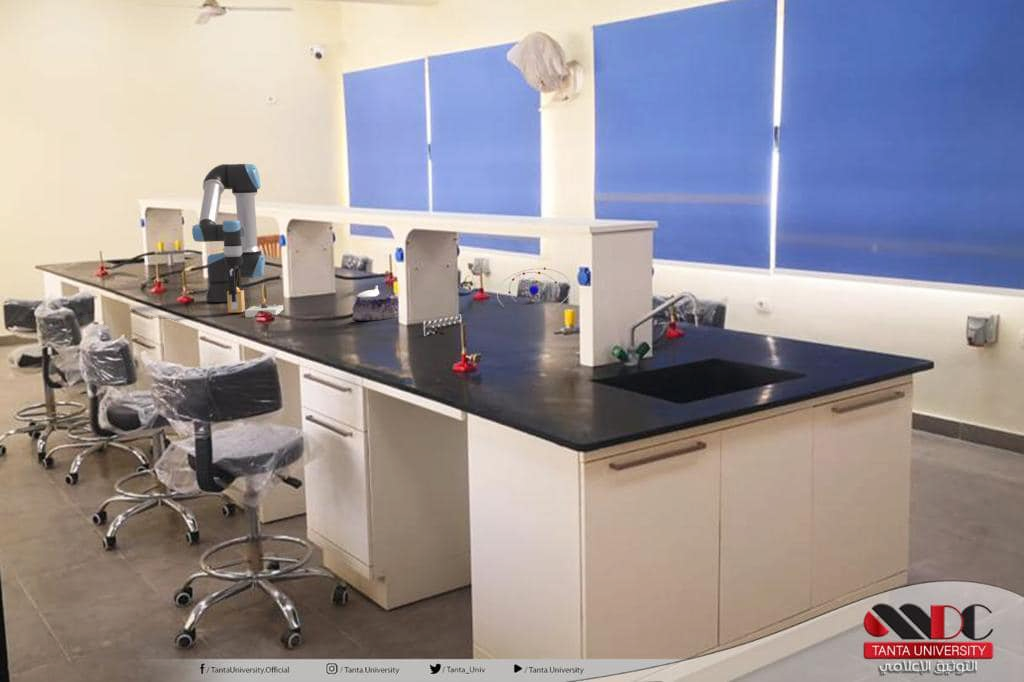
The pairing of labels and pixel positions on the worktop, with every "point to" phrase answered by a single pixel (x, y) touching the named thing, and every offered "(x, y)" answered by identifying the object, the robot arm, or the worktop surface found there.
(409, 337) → the worktop surface
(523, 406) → the worktop surface
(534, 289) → the atomic model
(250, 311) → the block
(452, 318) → the molecular model
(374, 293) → the driver head
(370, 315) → the geode
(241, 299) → the orange cube with dome
